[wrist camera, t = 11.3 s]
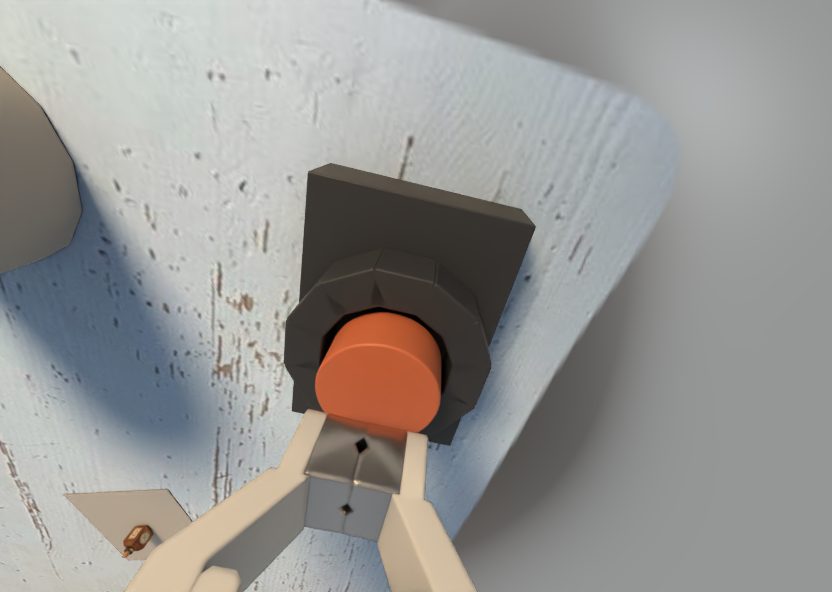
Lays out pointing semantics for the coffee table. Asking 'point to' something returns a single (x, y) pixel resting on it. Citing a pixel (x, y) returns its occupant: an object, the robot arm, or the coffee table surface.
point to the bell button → (382, 373)
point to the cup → (32, 182)
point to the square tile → (133, 518)
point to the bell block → (404, 277)
